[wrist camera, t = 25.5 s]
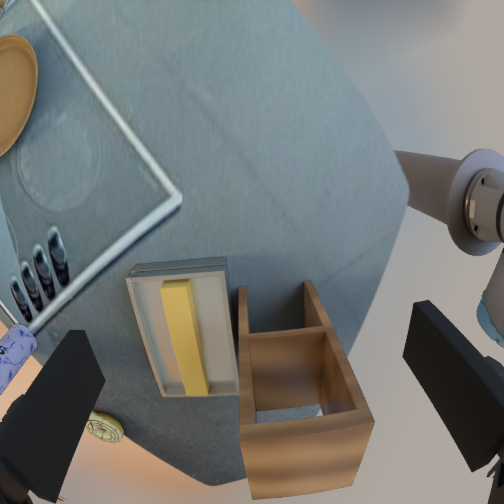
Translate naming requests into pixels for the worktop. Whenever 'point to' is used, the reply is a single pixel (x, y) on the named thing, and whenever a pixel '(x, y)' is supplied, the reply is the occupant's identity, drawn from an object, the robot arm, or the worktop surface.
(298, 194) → the worktop surface
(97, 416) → the decorated donut
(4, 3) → the coffee box
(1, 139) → the plant saucer
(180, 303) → the block
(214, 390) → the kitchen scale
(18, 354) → the aerosol can
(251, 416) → the shelf
